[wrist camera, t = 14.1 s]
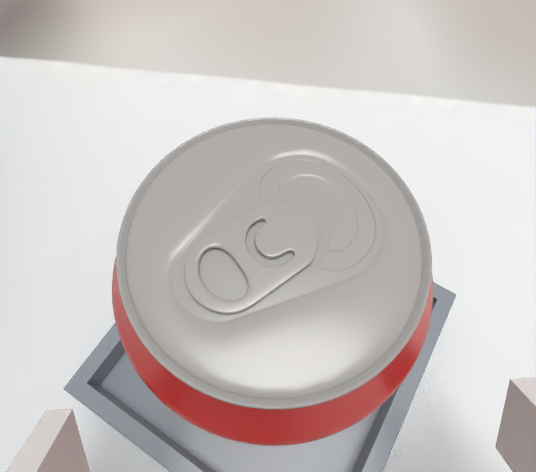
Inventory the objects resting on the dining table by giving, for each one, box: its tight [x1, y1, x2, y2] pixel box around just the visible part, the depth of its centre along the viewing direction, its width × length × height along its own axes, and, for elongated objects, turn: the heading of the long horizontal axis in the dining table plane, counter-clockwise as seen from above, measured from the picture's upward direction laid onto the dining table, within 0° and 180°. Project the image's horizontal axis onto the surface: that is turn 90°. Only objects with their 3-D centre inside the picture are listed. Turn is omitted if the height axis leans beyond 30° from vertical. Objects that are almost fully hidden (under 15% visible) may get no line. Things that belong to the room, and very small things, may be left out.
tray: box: [64, 282, 456, 472], centre depth 21 cm, size 15×15×2 cm
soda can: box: [112, 118, 433, 446], centre depth 15 cm, size 8×8×15 cm
